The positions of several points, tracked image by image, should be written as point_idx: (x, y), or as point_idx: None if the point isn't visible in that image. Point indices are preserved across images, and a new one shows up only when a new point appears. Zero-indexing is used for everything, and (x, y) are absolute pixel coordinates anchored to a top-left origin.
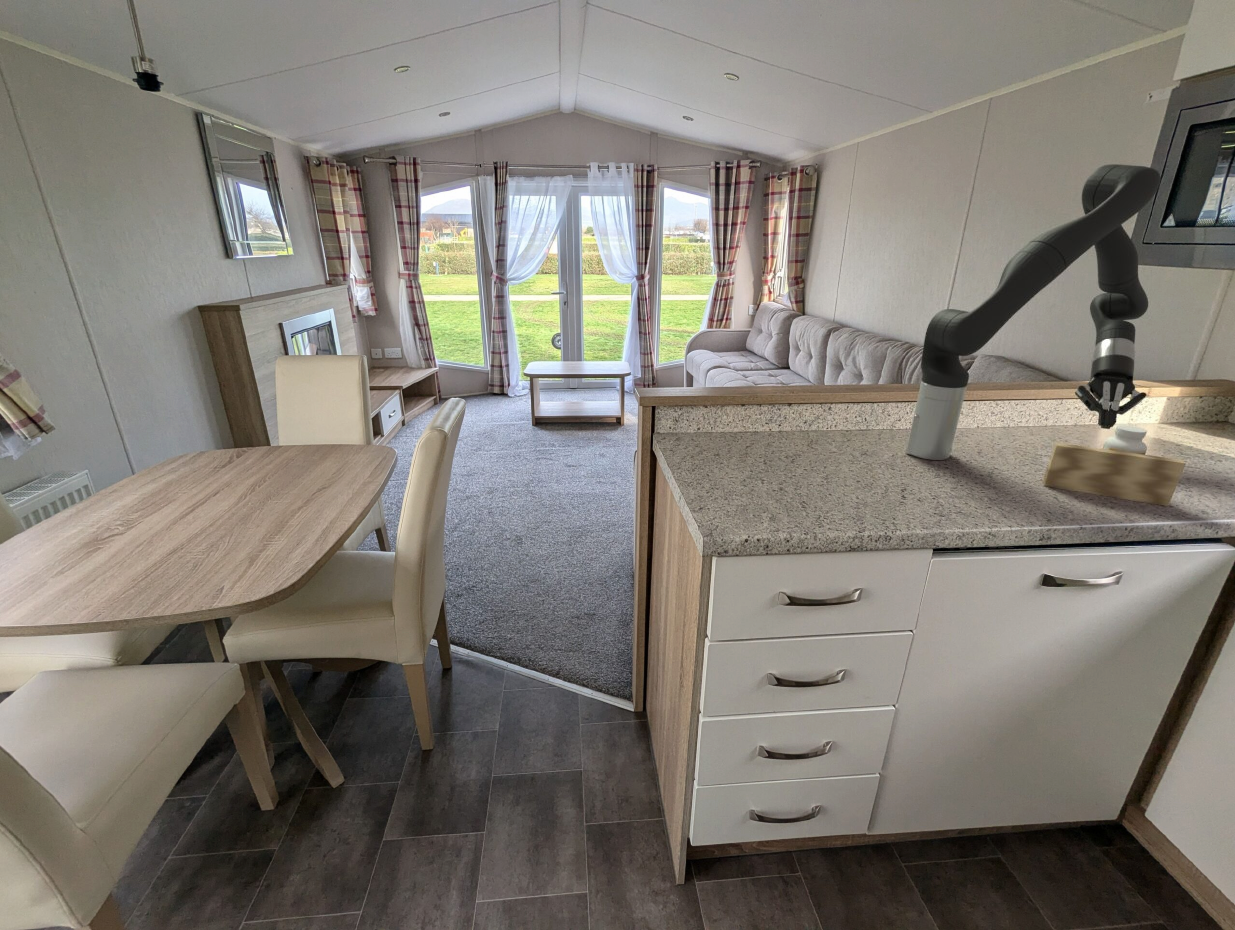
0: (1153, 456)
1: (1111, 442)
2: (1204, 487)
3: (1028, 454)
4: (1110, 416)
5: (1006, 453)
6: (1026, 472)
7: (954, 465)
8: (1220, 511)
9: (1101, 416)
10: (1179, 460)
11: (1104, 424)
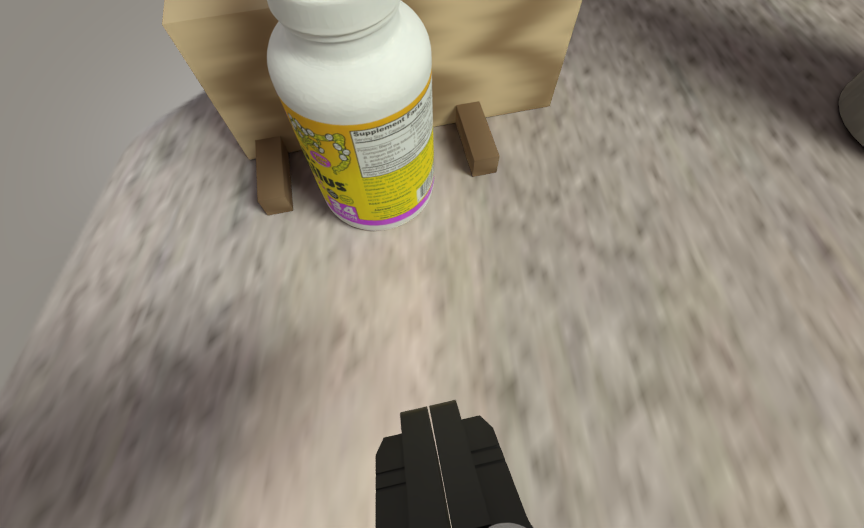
0: (262, 3)
1: (407, 5)
2: (57, 404)
3: (686, 368)
4: (429, 469)
5: (753, 315)
6: (611, 154)
7: (787, 83)
8: (117, 183)
9: (500, 461)
10: (177, 11)
11: (453, 401)
